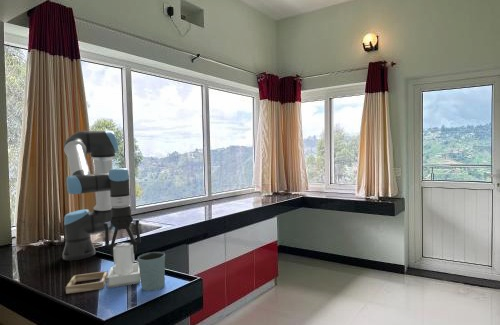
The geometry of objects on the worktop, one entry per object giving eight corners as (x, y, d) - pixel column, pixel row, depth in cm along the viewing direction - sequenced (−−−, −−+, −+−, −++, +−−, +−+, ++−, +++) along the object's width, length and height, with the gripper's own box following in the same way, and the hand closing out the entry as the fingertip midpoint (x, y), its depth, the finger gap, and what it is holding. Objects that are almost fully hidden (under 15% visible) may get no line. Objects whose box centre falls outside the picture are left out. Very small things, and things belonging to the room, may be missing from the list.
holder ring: (74, 281, 138) (73, 275, 137) (108, 276, 141) (107, 270, 141) (66, 294, 125) (65, 287, 125) (103, 288, 129) (103, 282, 129)
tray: (111, 275, 142) (111, 266, 142) (141, 271, 145) (140, 262, 145) (107, 288, 129) (106, 278, 128) (140, 283, 132) (139, 273, 132)
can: (135, 269, 140) (133, 241, 140) (130, 275, 134) (128, 245, 133) (119, 270, 140) (117, 242, 139) (113, 276, 133) (111, 246, 133)
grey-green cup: (140, 294, 122) (138, 261, 121) (138, 284, 131) (136, 254, 131) (168, 288, 126) (167, 256, 125) (164, 279, 135) (162, 249, 135)
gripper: (93, 210, 130) (97, 268, 130) (145, 205, 135) (148, 261, 136) (97, 207, 137) (100, 262, 138) (145, 202, 142) (148, 256, 143)
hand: (124, 262), depth 137 cm, fingers closed on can, 6 cm apart
